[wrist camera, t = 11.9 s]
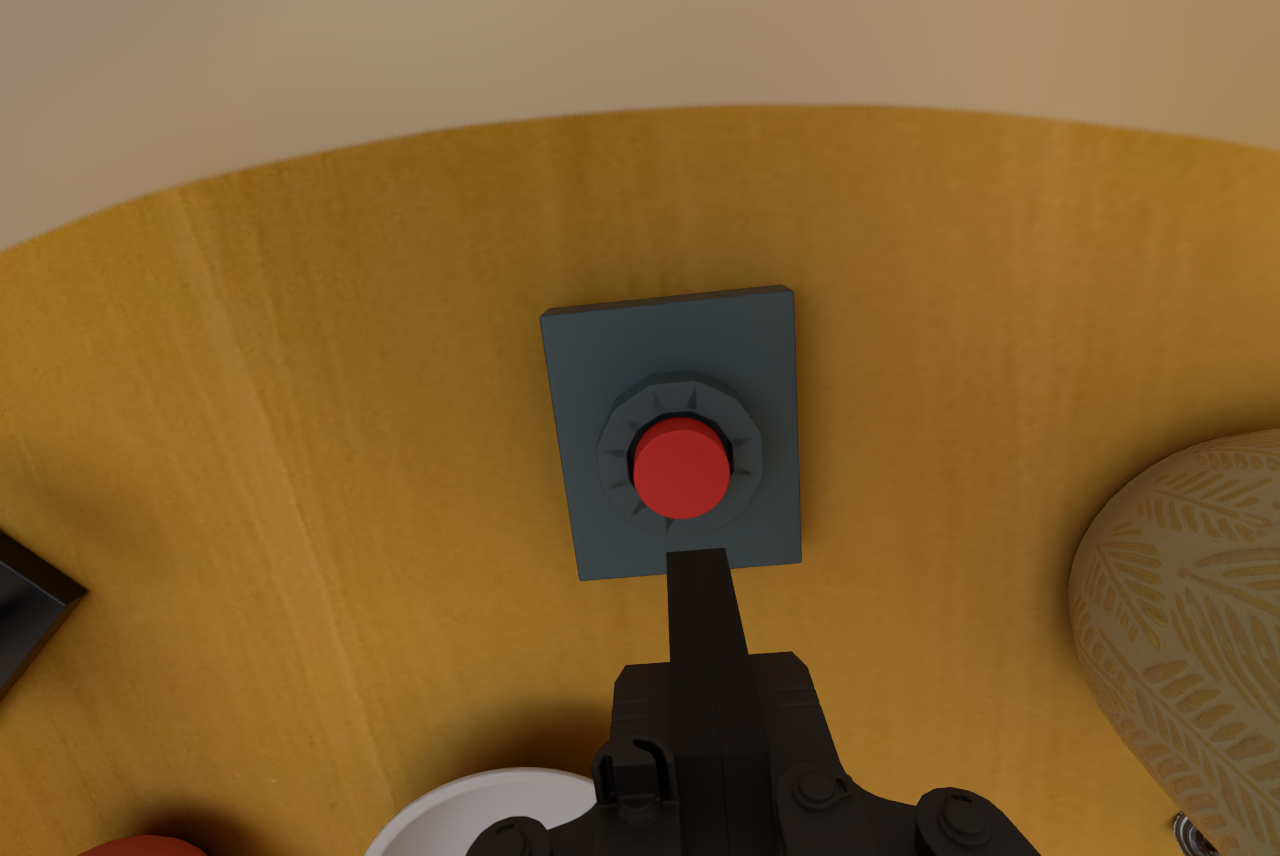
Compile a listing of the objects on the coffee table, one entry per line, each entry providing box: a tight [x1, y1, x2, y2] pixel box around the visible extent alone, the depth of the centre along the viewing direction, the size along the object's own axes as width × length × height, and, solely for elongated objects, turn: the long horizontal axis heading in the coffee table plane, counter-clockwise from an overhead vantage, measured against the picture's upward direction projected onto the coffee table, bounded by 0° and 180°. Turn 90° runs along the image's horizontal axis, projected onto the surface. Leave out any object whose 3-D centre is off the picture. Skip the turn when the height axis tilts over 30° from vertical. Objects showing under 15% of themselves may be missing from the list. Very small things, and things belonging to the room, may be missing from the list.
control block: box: [540, 285, 802, 581], centre depth 27 cm, size 12×10×4 cm
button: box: [633, 417, 730, 519], centre depth 25 cm, size 4×4×2 cm
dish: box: [364, 767, 597, 856], centre depth 34 cm, size 18×14×5 cm
